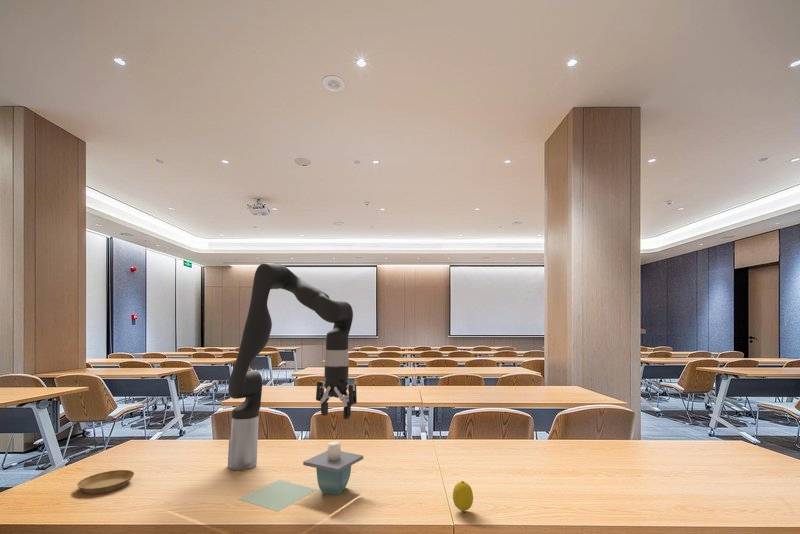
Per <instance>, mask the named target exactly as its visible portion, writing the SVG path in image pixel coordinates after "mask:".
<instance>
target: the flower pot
mask: <svg viewBox="0 0 800 534" xmlns="http://www.w3.org/2000/svg"><path fill="white" fill-rule="evenodd" d="M315 471H316V480H317V484H318V487H319V490H320V491H321V493H322V494H324V495H335V496H340V495H341V494H342V492H344V490H345V489H346V488H347V487H346V486H347V485H348V483H349V481H350V480H349V479H350V477H351V473H352V472H351V471H352V465H351V466H349V467H348V468H346V469H344V470H342V471H340V472H338V473H336V472H332V471H328V470H323V469H319V468H315Z"/></svg>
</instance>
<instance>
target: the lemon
mask: <svg viewBox="0 0 800 534" xmlns="http://www.w3.org/2000/svg"><path fill="white" fill-rule="evenodd" d="M452 500H453V501H452V502H453V505H454V506H455V507H456V508H457V510H459V511H461V512H462V513H465V512H466V511H467V510H470V508H471V507H472V506H473V503H474V494H473V490H472V487H471V485H470V484H468V483H467V482H466V481H464V480H461V481H459V482H457V483H456V484H455V485H454V487H453V491H452Z"/></svg>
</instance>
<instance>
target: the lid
mask: <svg viewBox="0 0 800 534" xmlns="http://www.w3.org/2000/svg"><path fill="white" fill-rule="evenodd" d="M341 445H342V444H341V442H340V441H330V442H328V443H327V450H325V451H324V452H321V453H320V454H317V455H315V456H312V457H309V459H306V460H304V461H303V462H302V464H303V466H305V467H311V468H315V469H316V468H319V469H323V470H328V471H332V472H336V473H338V472H340V471H342V470H344V469H346V468H348V467H349V466H351V467H352V466H353V465H355V464H358V462H360V461H362V460H364V455H362V454H361V455H360V454H356V453H353V452H352V453H351V452H347V451H342V449H341V447H342V446H341Z"/></svg>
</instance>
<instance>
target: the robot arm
mask: <svg viewBox="0 0 800 534" xmlns="http://www.w3.org/2000/svg"><path fill="white" fill-rule="evenodd" d="M280 289H282V290H285V291H288V292H289V293H291V294H293V295H294V296H295V298H296V300H297V301H298V302H299V303H300V304H302V305H303V306H304V307H306V308H308V309H309V310H311V311H313V312H314V313H315V314H316V315H318V317H320V318H321V319H322V320H323V321H325V322H327V323H330V324H333V328H332V329H331V330H329V331H327V333H326V337H325V355H324V380H325V381H324V380H321V381H317V382H316V391H315V393H316V394H315V400H316V401H317V402H319V403H320V414H321V416H322V417H324V416H328V414H329V400H330V399H331V398H337V399H339V400H340V401H341V403H342V404H343V417H342V418H343V420H348V419H350V417H351V415H352V414H351V412H352V406H354V405H356V404H357V402H358V401H357V399H358V398H357V396H358V395H357V384H355V383H352V384H349V383H348V379H349V365H350V364H349V362H350V358H349V357H350V356H349V355H350V354H349V335H350V331H351V327H352V323H353V319H354V311H353V307H352V305H351V304H350V303H349V302H348V301H342V300H341V301H340V300H334V299H331V298H330V296H329V295H328V294H327V293H326V292H325V291H323V290H322V289H321V290H320V289H319V288H317V287H315V286H313V285H311V284H310V283H308V282H307V281H305V280H303V279H302V278H301V277H299V276H297V275H296V273H294V272H293V271H292V270H290V269H289V268H288V267H286V265H284V264H281V263H271V262H270V263H269V262H267V263H265V262H262V263H261V264H259V265H258V267H257V268H256V270H255V272H254V276H253V281H252V290H251V298H250V302H249V303H250V304H249V307H248V311H247V312H248V313H247V317H246V320H245V324H244V328H243V331H242V337H241V340H240V344H239V345H240V346H239V349H238V353H237V356H236V360H235V363H234V365H233V368H232V371H231V373H230V377H229V380H228V388H227V391H228V392H227V393H228V395H229V397H230V398H231V399H233V400H234V399H235V400H237V399H244V401H242V403H241V404H239V405H237V406H236V407H234V408H233V409H232V411H231V427H230V428H231V430H230V438H229V439H228V452H227V453H228V454H227V455H228V457H227V467H229V468H228V469H230V470H231V471H245V470H250V469H252V468H255V467H256V466H257V465H258V464H257V463H258V446H259V445H258V444H259V443H258V441H259V440H258V439H259V417H260V416H259V415H260V409H261V405H262V395H263V394H262V392H263V379H262V377H263V376H262V375H261V373H260V372H259V371H258V370H250V371H249V369H250V366H251V364H252V363H253V361H254V360H255V359H256V358H257V357H258V356H259V354H261V352H262V351H264V350H263V349H265V347H266V346H267V344H268V342H269V340H270V336H271V332H272V327H273V323H272V317H271V314H270V311H269V308H268V300H269V296H270V291H271V290H280Z"/></svg>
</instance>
